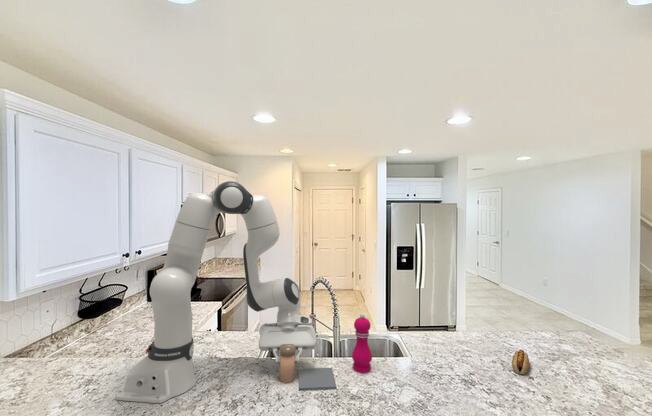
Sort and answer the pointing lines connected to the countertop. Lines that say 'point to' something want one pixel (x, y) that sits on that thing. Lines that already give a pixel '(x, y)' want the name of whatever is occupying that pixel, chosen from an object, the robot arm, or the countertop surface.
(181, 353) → the robot arm
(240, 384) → the countertop surface
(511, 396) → the countertop surface
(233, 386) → the countertop surface
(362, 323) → the pepper mill
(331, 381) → the pad
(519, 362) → the food
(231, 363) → the countertop surface
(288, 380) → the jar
